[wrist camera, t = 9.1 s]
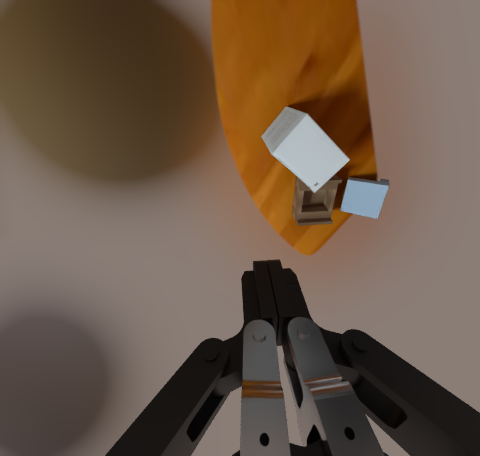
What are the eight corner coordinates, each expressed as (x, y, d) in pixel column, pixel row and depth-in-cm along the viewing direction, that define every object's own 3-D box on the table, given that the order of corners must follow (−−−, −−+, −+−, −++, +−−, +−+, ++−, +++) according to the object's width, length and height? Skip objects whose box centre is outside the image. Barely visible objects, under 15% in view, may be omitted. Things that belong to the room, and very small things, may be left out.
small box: (321, 141, 34) (352, 160, 26) (294, 168, 37) (315, 194, 28) (286, 104, 31) (308, 111, 23) (259, 136, 34) (271, 154, 25)
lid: (389, 185, 34) (390, 176, 37) (348, 179, 37) (352, 171, 40) (377, 218, 38) (379, 207, 41) (340, 210, 40) (344, 200, 43)
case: (296, 172, 37) (303, 181, 33) (331, 170, 37) (342, 179, 34) (292, 213, 41) (297, 225, 38) (323, 211, 42) (332, 223, 38)
